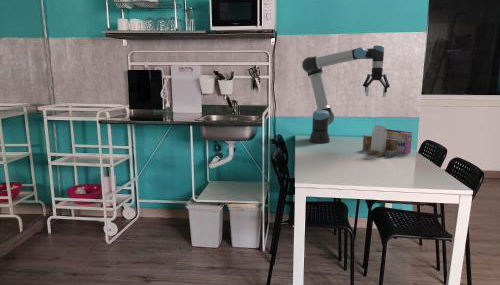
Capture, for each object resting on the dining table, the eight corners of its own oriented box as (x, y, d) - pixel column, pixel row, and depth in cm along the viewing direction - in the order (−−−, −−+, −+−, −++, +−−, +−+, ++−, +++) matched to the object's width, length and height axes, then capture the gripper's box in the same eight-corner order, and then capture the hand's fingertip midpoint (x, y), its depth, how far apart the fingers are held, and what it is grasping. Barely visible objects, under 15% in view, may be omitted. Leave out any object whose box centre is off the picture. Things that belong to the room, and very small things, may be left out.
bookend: (384, 157, 248) (385, 151, 248) (392, 154, 256) (393, 148, 255) (388, 157, 247) (389, 151, 246) (396, 155, 254) (396, 149, 253)
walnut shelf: (354, 151, 263) (355, 137, 261) (363, 149, 271) (364, 135, 269) (387, 158, 246) (389, 142, 244) (397, 155, 254) (398, 140, 253)
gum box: (372, 148, 276) (374, 129, 274) (378, 146, 282) (379, 128, 279) (405, 153, 259) (407, 133, 257) (411, 152, 265) (412, 132, 262)
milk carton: (374, 152, 262) (377, 124, 258) (385, 154, 257) (387, 125, 254) (370, 154, 257) (372, 125, 253) (380, 155, 252) (383, 126, 249)
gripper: (359, 67, 290) (357, 95, 294) (391, 67, 273) (388, 98, 277) (364, 67, 295) (362, 95, 299) (396, 67, 278) (393, 97, 282)
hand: (375, 96), depth 288 cm, fingers open, 13 cm apart
